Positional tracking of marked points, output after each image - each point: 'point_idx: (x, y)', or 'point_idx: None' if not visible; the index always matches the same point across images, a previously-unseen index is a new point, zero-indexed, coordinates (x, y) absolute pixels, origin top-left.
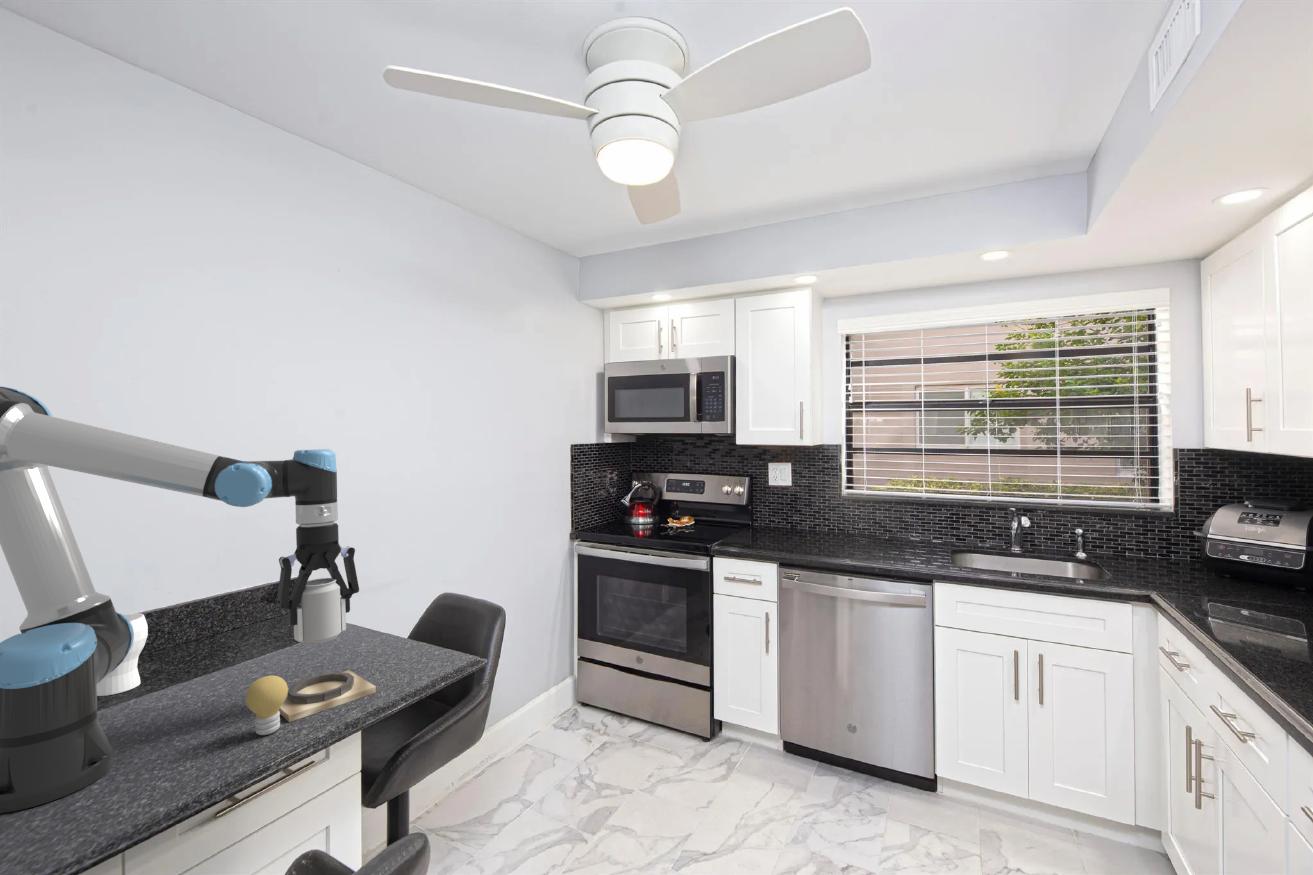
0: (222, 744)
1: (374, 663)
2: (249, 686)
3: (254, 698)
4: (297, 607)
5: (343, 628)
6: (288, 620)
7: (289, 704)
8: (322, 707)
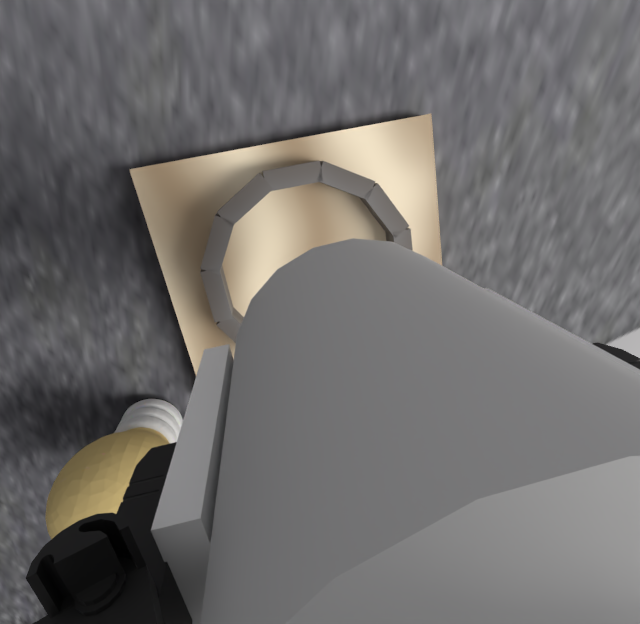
0: (45, 424)
1: (533, 42)
2: (47, 526)
3: None
4: (199, 572)
5: None
6: (134, 480)
7: (208, 317)
8: None
